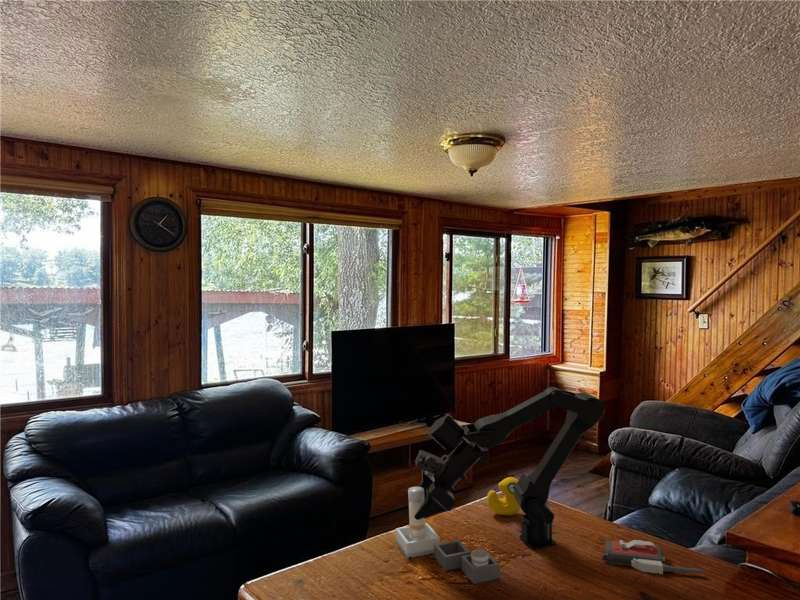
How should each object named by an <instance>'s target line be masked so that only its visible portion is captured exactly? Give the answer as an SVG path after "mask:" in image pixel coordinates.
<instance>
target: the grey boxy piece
mask: <svg viewBox="0 0 800 600" xmlns="http://www.w3.org/2000/svg"><path fill="white" fill-rule="evenodd" d="M460 568H461V571H462V572H463V574H464V575H466V577H467V578H468V579H469V581H470V582H471V583H472V584H474V585H475V584H480V583H484V582H488V581H492V580H498V579H501V578H500V577H501V576H500V575H501V574H500V564H499V562H498V561H497V560H495V559H494V558H493V557H492V555H491V554H489V561H488V565H485V566H481V567H476V568H475V567H474V566H473V565H472V560H471V553H470V555H465V556H461V567H460Z"/></svg>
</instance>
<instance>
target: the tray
mask: <svg viewBox="0 0 800 600" xmlns="http://www.w3.org/2000/svg"><path fill="white" fill-rule="evenodd" d="M409 533H410V527H409V525H408V526H402V527H397V528H395V543H396V545H397V546H398V547H399V549H400V550H401V552H402V551H403V552H402V553H403V554H405V555H404V556H405V558H406V559H410V558H409V557H412V558H416V557H415V556H417V557H422V556H425V555H426V556H427V555H431V553H432V554H435V552H434V545H435V544H440V543H441V538H440V536H439V535H438V534H437V533H436V531H435V530H434V529H433V528H432V527H431V526H430V525H429V523H428V522H425V539H422V540H416V541H411V542H410V537H409Z"/></svg>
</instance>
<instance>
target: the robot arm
mask: <svg viewBox="0 0 800 600" xmlns="http://www.w3.org/2000/svg"><path fill="white" fill-rule="evenodd" d="M557 407H558V408H561V409H564V410H567V411H566V417H565V422H564V424H562V425H563V426H562V427H561V429H560V430H559V431H558V433H557V435H556V436H555V438H554V439H553V442H552V443H551V444H550V446H549V448H548V449H547V450H546V452H545V454H544V455H543V457H542V458H541V460H540V462H539V463H538V464H537V466H536V468H535V470H534V471H532V472H531V473H529V474H527V473H525V472H522V473H521V474H520V477H519V479H518V480H519V481H518V482H517V483H516V484H515V485H514V486H515V490H514V497H515V500H516V501H517V503H518V505H519V506H520V508H521V509H520V510H521V512H523V513H524V514H523V515H522V522H521V524H520V529H521V531H520V532H521V533H520V534H519V539H520V540H522V541H523V542H524V543H525V544H526V545H528V546H529V547H530V548H531V549H533V550H536V549H540V548H546V547H549V546H556V545H557V542H556V541H555V540H554V539H553V521H554V518H555V514H554V512H553V511H552V510H551V508H550V507H549V506H548V505H547V502H548V499H549V496H550V490H551V485H552V482H553V481H554V479H555V478H556V476H557V475H558V473H559V471H560V470H561V468H562V467H563V466H564V464H565V462H566V461H567V459H568V457H569V456H570V454H571V453H572V451H573V450H574V448H575V446H576V445H577V444H578V442H579V440H580V438H581V437H582V435H583V434H585V433H586V432H588V431H589V430H591V429H592V428H593V427H594V426H596V425H597V423H598V422H599V421H600V420H601V419H602V418H603V416H604V414H605V411H606V409H605V405H604V403H603V402H602V400H600V399H599V398H597V397H596V396H594V395H592V394H590V393H588V392H585V391H584V392H583V391H582V392H577V393H575V392H571V391H567V390H564V389H559V388H557V387H555V386H550V387H547V388H546V389H545V390H544V391H542V392H540V393H538V394H537V395H534V396H532V397H531V398H528V399H527V400H526V401H523V402H522V403H520V404H517V405H515V406H514V407H512V408H510V409H509V410H506V411H504V412H501V413H496V414H491V415H487V416H484V417H481V418H478V419H477V420H476V421H475V422H474V423H473V422H472V423H469V424H463V425H462V424H461V425H460V424H459V423H458V422H457V421H456V420H455V419H454V418H453V416H451V414H450V413H448V412H447V413H446V414H445V415H444V416H442V417H440V418H439V419H437V420H435V422H434V423H433V424H432V425H431V427H430V428H429V429H428V433H427V434H428V436H430V438H432V439H433V440H434V441H435V442H436V443H437V444H439V446H440V447H441V448H443V449H444V451H447V450H449V451H451V452H450V453H449V454H448V455H447V454H443V455H442V456H441V457H439V456H436V455H435V454H432V453H431V452H427V451H426V450H422V449H419V451H418V453H417V456H416V458H415V461H414V463H415V467H416V468H417V469H419V470H421V481H420V484H419V485H418V487H422V488H423V489H424V503H423V504H422V505H421V507H420V508H419V510H418V511H417V513H416V514H415V516H414V518H415V519H416V520H419V519H422V518H424V519H426V518H428V517H429V516H432V515H436V514H439V513H441V512H445V513H446V512H451V511H452V510H453V509H454V508H455V506H456V499H455V496H454V494H453V492H454V491H455V488H454V487H455V485H456V484H457V483H458V482H459V481H460V480H462V481H464V480H465V479H466V478H467V475H466V474H467V473H468V472H469V470H471V468H472V467H473V466H474V465H475V464H476V463H477V462H478V461H479V460H480V459H482V460H483V461H484V462H486V464H488V463H489V462H490V460H489V454H490V451H489V449H492V448H496V447H497V446H498V445H500V444H501V443H502V442H503V441H505V440H506V439H507V437H509V435H510V434H511V433H512V432H513V431H514V430H516V429H517V428H519V427H521V426H524V425H525V424H527V423H528V422H530V421H533V420H534V419H536V418H538V417H539V416H542V415H543V414H545V413H547V412H549V411H551V410H553V409H554V408H557ZM482 447H483V448H482Z"/></svg>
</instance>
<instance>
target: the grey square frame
mask: <svg viewBox="0 0 800 600" xmlns="http://www.w3.org/2000/svg"><path fill="white" fill-rule="evenodd" d="M434 552H435V553H434V559H435V558H436V559H437V560H436V559H435V560H436V562H438V564H439V563H440V564H439V565H440V566H441V567H442V568H443V570H444V571H449V570H455V569H459V568H461V556H465V555H470V554H471V551H469V550H468V548H467V547H466V546H465V545H464V544H463V543H462V542H461V541H460V540H459V539H456V540H451V541H446V542H442V543H441V542H440V544H435V545H434Z"/></svg>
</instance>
